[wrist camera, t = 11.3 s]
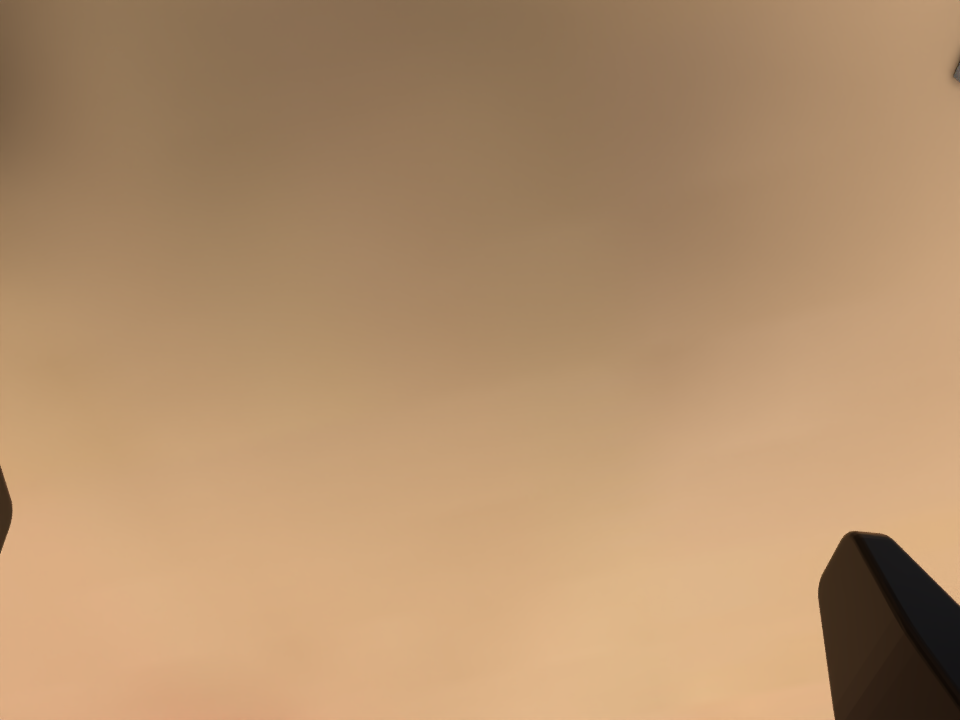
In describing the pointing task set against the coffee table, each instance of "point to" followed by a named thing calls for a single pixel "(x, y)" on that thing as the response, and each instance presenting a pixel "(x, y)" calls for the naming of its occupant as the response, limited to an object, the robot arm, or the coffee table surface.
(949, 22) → the coffee table surface
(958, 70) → the slate board
